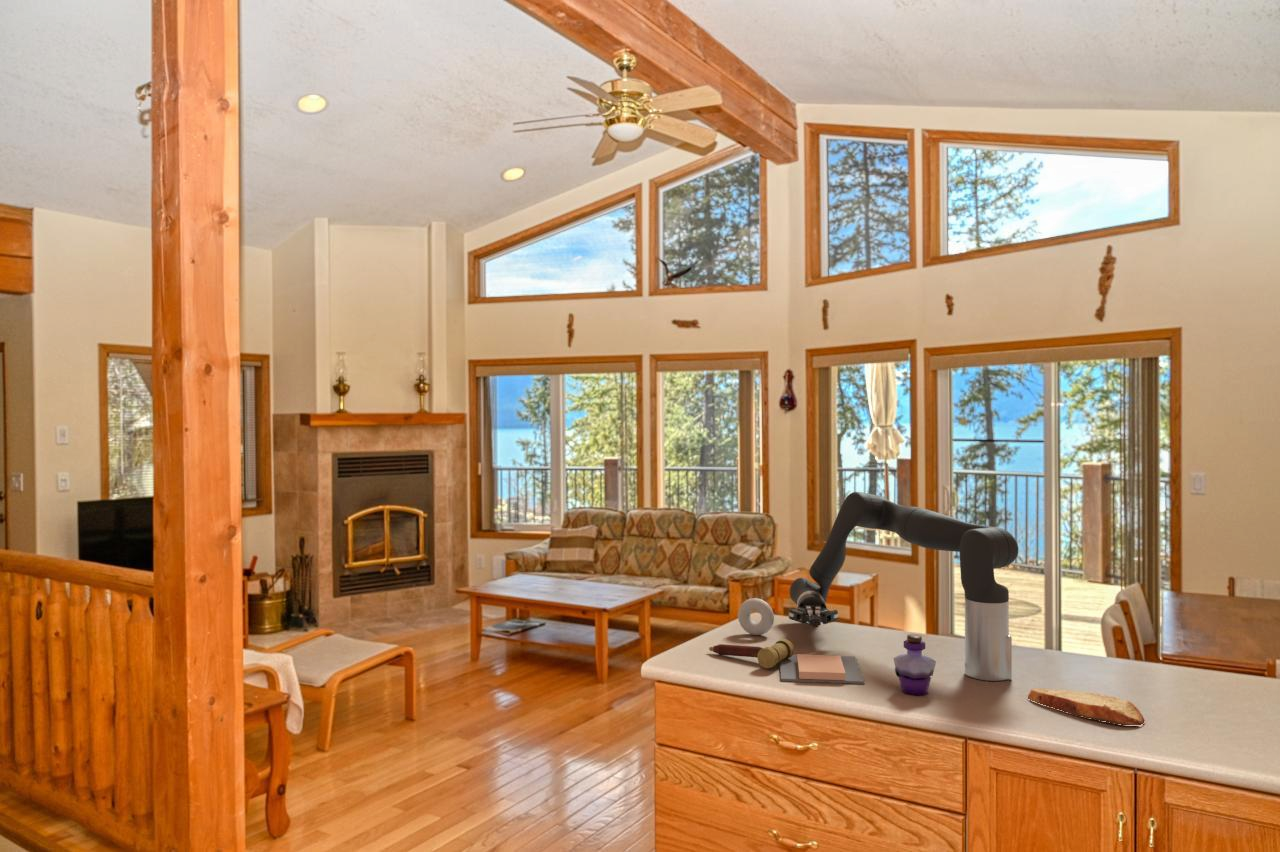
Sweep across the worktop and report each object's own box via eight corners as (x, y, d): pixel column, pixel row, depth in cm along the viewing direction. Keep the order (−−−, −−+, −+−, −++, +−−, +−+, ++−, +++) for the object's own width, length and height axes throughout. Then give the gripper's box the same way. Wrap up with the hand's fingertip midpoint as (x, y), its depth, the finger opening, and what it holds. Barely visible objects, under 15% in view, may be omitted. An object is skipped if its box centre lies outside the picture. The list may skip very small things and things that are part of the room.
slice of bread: (1022, 696, 181) (1021, 678, 181) (1112, 699, 178) (1112, 681, 178) (1052, 726, 163) (1052, 707, 163) (1153, 730, 161) (1153, 710, 161)
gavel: (697, 644, 210) (719, 635, 218) (699, 662, 210) (720, 653, 218) (773, 649, 198) (793, 639, 206) (775, 669, 198) (795, 658, 205)
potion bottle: (894, 684, 188) (893, 629, 188) (935, 687, 186) (935, 632, 186) (892, 696, 180) (892, 639, 180) (936, 700, 177) (936, 642, 177)
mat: (855, 658, 208) (855, 656, 208) (864, 684, 188) (864, 681, 188) (779, 656, 211) (779, 653, 211) (780, 681, 191) (780, 678, 191)
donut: (736, 634, 232) (736, 597, 232) (740, 631, 235) (739, 595, 235) (772, 638, 228) (772, 600, 228) (775, 635, 231) (775, 598, 231)
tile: (840, 655, 203) (845, 673, 189) (840, 662, 203) (845, 681, 189) (797, 654, 204) (799, 671, 190) (797, 661, 204) (799, 679, 190)
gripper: (786, 592, 230) (788, 607, 213) (836, 593, 228) (842, 608, 211) (786, 620, 230) (788, 637, 213) (836, 621, 229) (842, 639, 211)
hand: (815, 623), depth 212 cm, fingers closed
